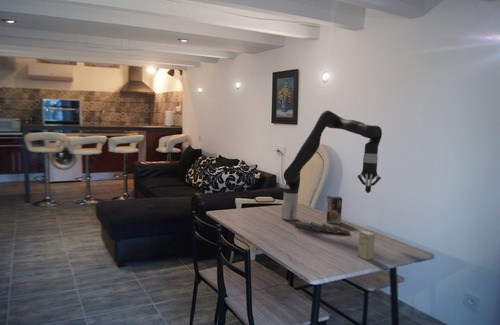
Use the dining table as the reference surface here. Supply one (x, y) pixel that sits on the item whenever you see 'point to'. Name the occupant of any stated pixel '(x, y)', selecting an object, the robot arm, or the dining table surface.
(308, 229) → the domino
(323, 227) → the domino
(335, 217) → the coffee box
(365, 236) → the skincare box
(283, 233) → the dining table surface
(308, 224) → the domino
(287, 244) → the dining table surface
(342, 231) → the domino
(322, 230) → the domino
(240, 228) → the dining table surface
